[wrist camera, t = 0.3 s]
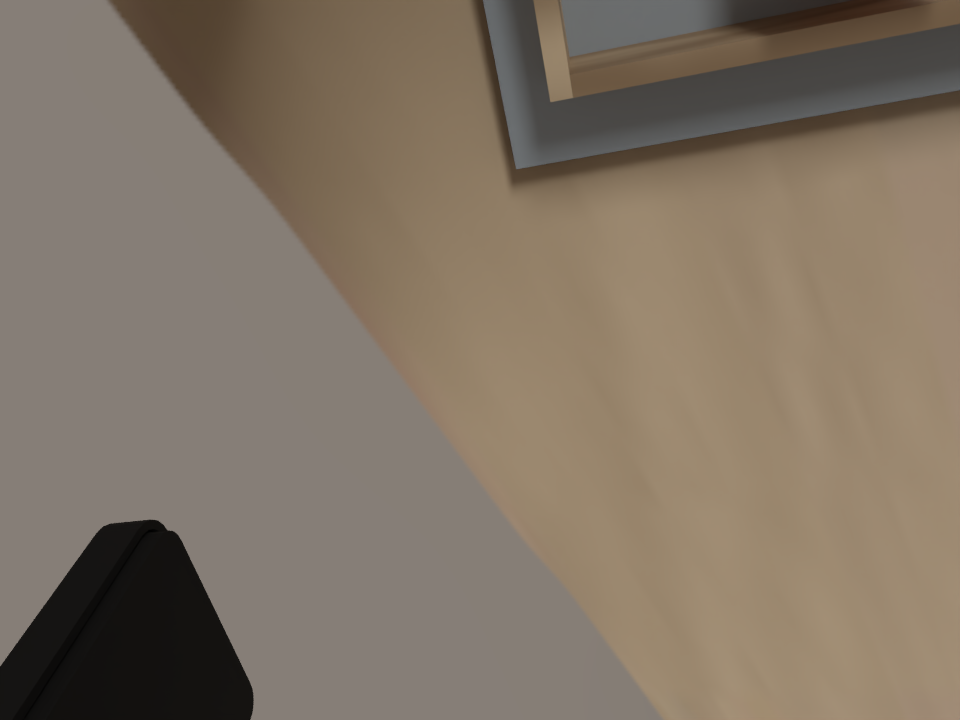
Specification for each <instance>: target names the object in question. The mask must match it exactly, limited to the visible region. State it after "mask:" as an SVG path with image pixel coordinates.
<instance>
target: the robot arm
mask: <svg viewBox="0 0 960 720" xmlns="http://www.w3.org/2000/svg"><path fill="white" fill-rule="evenodd" d="M252 711H253V690H252V687H251V684H250V682H249V680H248V677H247V676H246V673H245V671H244V670H243V667H242V665H241V663H240V661H239V659H238V657H237V655H236V653H235V651H234V649H233V646H232V644H231V642H230V640H229V638H228V636H227V634H226V632H225V630H224V628H223V626H222V624H221V622H220V620H219V617H218V615H217V613H216V611H215V609H214V607H213V605H212V603H211V601H210V599H209V597H208V595H207V593H206V591H205V589H204V587H203V584H202V582H201V580H200V578H199V576H198V574H197V572H196V570H195V568H194V566H193V564H192V562H191V560H190V557H189V556H188V553H187V551H186V549H185V547H184V545H183V543H182V541H181V539H180V538H179V536H178V535H177V534H176V533H175V532H173V531H167V529H166V528H165V526H164V525H163V524H161V523H160V522H159V521H157V520H143V521H133V522H124V523H114V524H109V525H106V526H103V527H102V528H101V529H100V530H99V531H98V533H96V535H95V536H94V537H93V539H92V540H91V542H90V543H89V544H88V546H87V547H86V549H85V550H84V551H83V553H82V554H81V556H80V557H79V558H78V560H77V561H76V562H75V564H74V565H73V567H72V568H71V569H70V571H69V572H68V573H67V575H66V576H65V578H64V579H63V580H62V582H61V583H60V585H59V586H58V587H57V589H56V590H55V591H54V593H53V594H52V596H51V597H50V598H49V600H48V601H47V603H46V604H45V605H44V607H43V608H42V609H41V611H40V612H39V614H38V615H37V616H36V618H35V619H34V621H33V622H32V623H31V625H30V626H29V627H28V629H27V630H26V632H25V633H24V634H23V636H22V637H21V639H20V640H19V641H18V643H17V644H16V645H15V647H14V648H13V650H12V651H11V652H10V654H9V655H8V657H7V658H6V659H5V661H4V662H3V664H2V665H1V666H0V720H250V719H251V715H252Z"/></svg>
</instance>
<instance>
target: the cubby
mask: <svg viewBox="0 0 960 720" xmlns="http://www.w3.org/2000/svg"><path fill="white" fill-rule="evenodd" d="M533 1H534V7H535V13H536V19H537V25H538V31H539V37H540V43H541V49H542V55H543V61H544V67H545V72H546V78H547V84H548V90H549V96H550V102H554V101H560V100H565V99H570V98H575V97H580V96H586V95H591V94H596V93H601V92H607V91H612V90H617V89H622V88H627V87H633V86H638V85H643V84H648V83H653V82H659V81H664V80H669V79H674V78H679V77H685V76H690V75H695V74H700V73H706V72H711V71H716V70H721V69H726V68H732V67H737V66H742V65H747V64H752V63H758V62H763V61H768V60H773V59H779V58H784V57H789V56H794V55H799V54H805V53H810V52H815V51H820V50H825V49H831V48H836V47H841V46H846V45H851V44H857V43H862V42H867V41H872V40H878V39H883V38H888V37H893V36H898V35H904V34H909V33H914V32H919V31H924V30H930V29H935V28H940V27H945V26H950V25H956V24H960V0H851V1H846V2H841V3H836V4H831V5H826V6H821V7H816V8H811V9H806V10H801V11H796V12H791V13H786V14H781V15H776V16H771V17H766V18H761V19H756V20H751V21H746V22H741V23H736V24H731V25H726V26H721V27H717V28H712V29H707V30H702V31H697V32H692V33H687V34H682V35H677V36H672V37H667V38H662V39H657V40H652V41H647V42H642V43H637V44H632V45H627V46H622V47H617V48H612V49H607V50H602V51H597V52H592V53H587V54H582V55H577V56H572V57H570V56H569V50H568V43H567V37H566V30H565V24H564V17H563V10H562V4H561V0H533Z"/></svg>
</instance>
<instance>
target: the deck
mask: <svg viewBox="0 0 960 720" xmlns="http://www.w3.org/2000/svg"><path fill="white" fill-rule="evenodd" d="M846 1H851V0H561V4H562V10H563V17H564V24H565V30H566V37H567V43H568V50H569V56H570V57H572V56H577V55H582V54H587V53H592V52H597V51H602V50H607V49H612V48H617V47H622V46H627V45H632V44H637V43H642V42H647V41H652V40H657V39H662V38H667V37H672V36H677V35H682V34H687V33H692V32H697V31H702V30H707V29H712V28H717V27H721V26H726V25H731V24H736V23H741V22H746V21H751V20H756V19H761V18H766V17H771V16H776V15H781V14H786V13H791V12H796V11H801V10H806V9H811V8H816V7H821V6H826V5H831V4H836V3H841V2H846ZM483 3H484V8H485V13H486V18H487V23H488V29H489V34H490V39H491V44H492V49H493V54H494V59H495V64H496V69H497V74H498V80H499V85H500V90H501V95H502V100H503V105H504V110H505V115H506V120H507V126H508V131H509V136H510V141H511V146H512V151H513V156H514V161H515V166H516V169H521V168H527V167H532V166H538V165H543V164H549V163H555V162H560V161H566V160H571V159H577V158H583V157H588V156H594V155H599V154H605V153H611V152H616V151H622V150H627V149H633V148H639V147H644V146H650V145H655V144H661V143H667V142H672V141H678V140H683V139H689V138H695V137H700V136H706V135H711V134H717V133H723V132H728V131H734V130H740V129H745V128H751V127H756V126H762V125H768V124H773V123H779V122H784V121H790V120H796V119H801V118H807V117H812V116H818V115H824V114H829V113H835V112H840V111H846V110H852V109H857V108H863V107H868V106H874V105H880V104H885V103H891V102H896V101H902V100H908V99H913V98H919V97H924V96H930V95H936V94H941V93H947V92H953V91H958V90H960V24H956V25H950V26H945V27H940V28H935V29H930V30H924V31H919V32H914V33H909V34H904V35H898V36H893V37H888V38H883V39H878V40H872V41H867V42H862V43H857V44H851V45H846V46H841V47H836V48H831V49H825V50H820V51H815V52H810V53H805V54H799V55H794V56H789V57H784V58H779V59H773V60H768V61H763V62H758V63H752V64H747V65H742V66H737V67H732V68H726V69H721V70H716V71H711V72H706V73H700V74H695V75H690V76H685V77H679V78H674V79H669V80H664V81H659V82H653V83H648V84H643V85H638V86H633V87H627V88H622V89H617V90H612V91H607V92H601V93H596V94H591V95H586V96H580V97H575V98H570V99H565V100H560V101H554V102H550V96H549V90H548V84H547V78H546V72H545V67H544V61H543V55H542V49H541V43H540V37H539V31H538V25H537V19H536V13H535V7H534V1H533V0H483Z"/></svg>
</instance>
